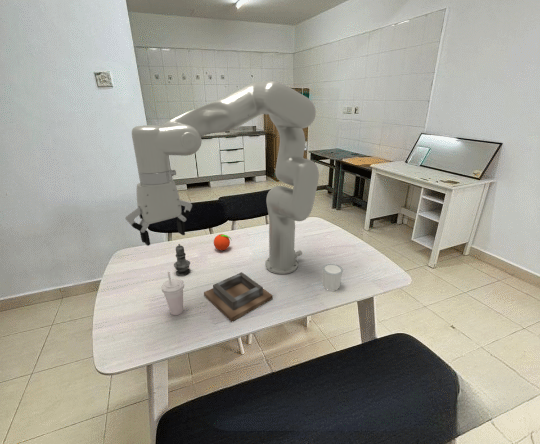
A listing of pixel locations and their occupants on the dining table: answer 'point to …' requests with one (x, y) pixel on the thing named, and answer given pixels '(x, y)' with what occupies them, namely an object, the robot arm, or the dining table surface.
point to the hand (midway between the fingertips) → (165, 238)
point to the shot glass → (332, 276)
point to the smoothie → (174, 294)
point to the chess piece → (181, 262)
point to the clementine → (221, 242)
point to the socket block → (237, 296)
